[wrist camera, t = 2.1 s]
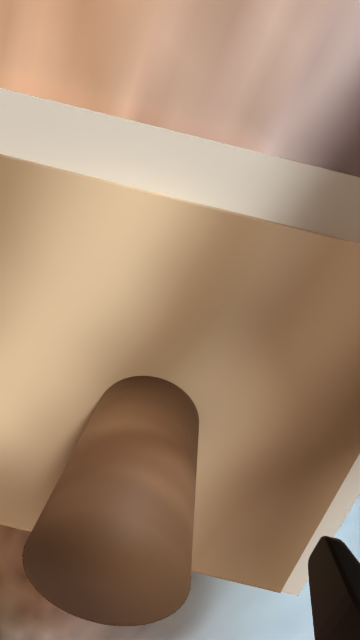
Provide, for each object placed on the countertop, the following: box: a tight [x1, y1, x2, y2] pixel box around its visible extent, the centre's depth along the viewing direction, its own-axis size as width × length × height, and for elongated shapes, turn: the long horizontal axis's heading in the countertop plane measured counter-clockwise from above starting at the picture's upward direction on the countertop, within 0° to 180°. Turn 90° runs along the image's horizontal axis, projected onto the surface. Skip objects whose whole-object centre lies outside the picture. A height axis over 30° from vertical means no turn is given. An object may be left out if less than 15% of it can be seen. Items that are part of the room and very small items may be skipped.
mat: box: [0, 88, 360, 596], centre depth 12 cm, size 16×16×1 cm
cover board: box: [0, 154, 360, 626], centre depth 9 cm, size 13×13×6 cm
